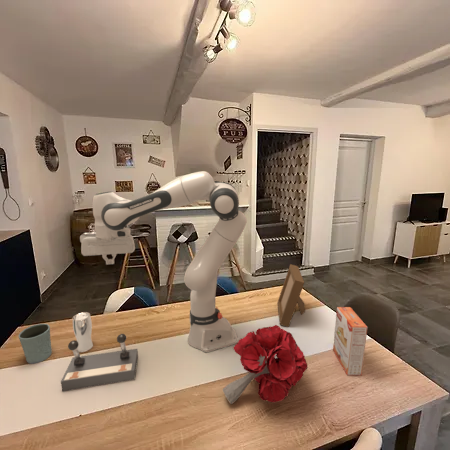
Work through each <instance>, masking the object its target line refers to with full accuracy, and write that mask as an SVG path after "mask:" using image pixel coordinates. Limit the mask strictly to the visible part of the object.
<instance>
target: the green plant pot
mask: <svg viewBox="0 0 450 450" xmlns="http://www.w3.org/2000/svg"><path fill="white" fill-rule="evenodd" d="M18 339H19V342H20V344H21V348H22V351H23V354H24V357H25V360H26V362H27V363H28V364H30V365H32V364H33V365H34V364H38V363H41V362H43V361H46V360H47V359H48V358H49V357H51V355H52V352H53V351H52V349H53V348H52V341H51V326H50V324H49V323H38V324H32V325H30V326H28V327H25V328H24V329H23V330H22V331H20V332H19V334H18Z"/></svg>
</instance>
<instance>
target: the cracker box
mask: <svg viewBox="0 0 450 450" xmlns="http://www.w3.org/2000/svg"><path fill="white" fill-rule="evenodd" d="M368 328H369V327H368V326H367V325H366V323H364V322H363V320H362V319H361V318H360V317H359V315H358V314H357V313H356V312H355V311H354V310H353V308H352V307H350V306H337V307H336V314H335V325H334V334H333V335H334V336H333V343H332V345H333V347H332V351H333V353H334V354H335V357H336V359H337V360H338V361H339V364H340V365H341V367H342V369H343V370H344V372H345V374H346V375H347V376H362V375H363V367H364V366H363V365H364V358H365V352H366V343H367V342H366V341H367V335H368Z"/></svg>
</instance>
